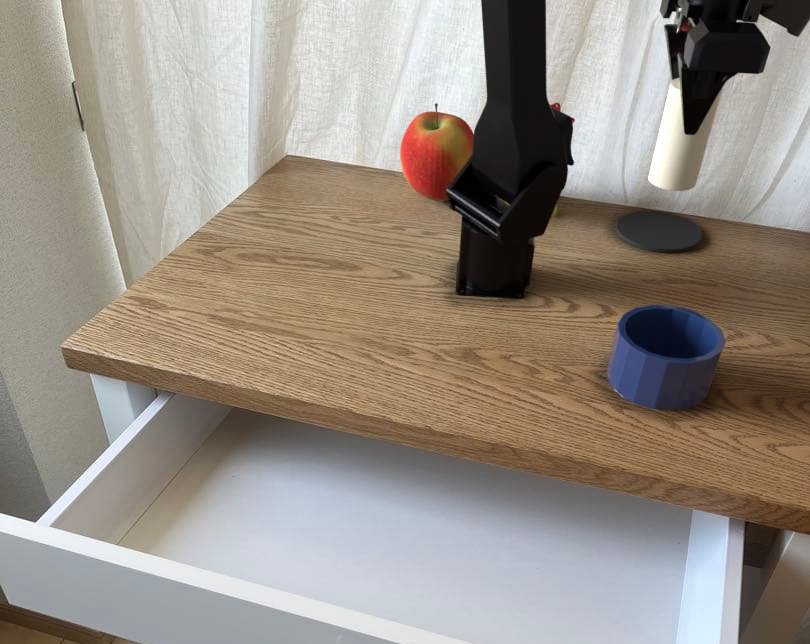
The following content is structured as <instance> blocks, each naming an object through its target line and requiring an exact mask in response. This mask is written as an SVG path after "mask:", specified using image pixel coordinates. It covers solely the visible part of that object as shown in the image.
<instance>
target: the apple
mask: <svg viewBox="0 0 810 644" xmlns="http://www.w3.org/2000/svg"><path fill="white" fill-rule="evenodd" d="M438 106H439V104H438V103H436V102H435V103H434V109H435V111H434V110H433V111H425V112H422V113H420V114H418V115H416V116H415V117H414V118H413V119H412V120H411V121H410V123H409V124H408V126H407V128H406V130H405V132H404V134H403V137H402V140H401V142H400V150H399V162H400V167H401V171H402V173H403V176H404V179H405V180H406V181H407V182H406V183H408V185H409V186H410V187H411V189H413V191H415V192H416V193H418V194H419V195H421V196H423V197H425V198H428V199H430V200H435V201H448V199H447V195H446V189H447V188H448V186H449V185H450V184H451V182H452V181H453V180H454V178H455V177H456V176H457V174H458V173H459V172H460V170H461V169H462V168H463V166H464V165H465V164H466V163H467V161H468V160H469V159H470V157H471V156H472V155H473V140H474V130H472V128H471V127H470V125H469V124H468V122H467V121H466V120H464V119H463V118H462V117H459V116H457V115H454V114H452V113H451V114H450V113H446V112H442V111H441V112H440V111H438Z"/></svg>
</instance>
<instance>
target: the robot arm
mask: <svg viewBox="0 0 810 644" xmlns="http://www.w3.org/2000/svg"><path fill="white" fill-rule="evenodd" d="M480 4H481V5H480V6H481V19H482V20H481V21H482V22H481V23H482V37H483V53H484V68H485V84H486V85H485V86H486V102H485V105H484V107H483V110H482V111H481V113H480V115H479V117H478V120H477V123H476V124H475V127H474V130H473V134H474V140H473V155H472V156H471V157H470V159H469V160H468V161H467V163H466V164H465V165H464V166H463V168H462V169H461V170H460V172H459V173H458V174H457V176H456V177H455V178H454V180H453V181H452V182H451V184H450V185H449V186H448V188H447V189H446V195H447V199H448V200H447V203H448V206H449V209H450V210H451V211H452V212H455V213H457V214H458V215H460V216H461V224H460V225H461V226H460V238H459V239H460V241H459V250H458V251H459V252H458V260H457V262H456V275H455V277H456V278H455V291H454V293H455V295H456V296H460V297H475V298H476V297H478V298H491V299H492V298H494V299H511V300H512V299H513V300H523V299H524V298H525V294H526V293H525V288H527V287H529V286H530V283H531V278H532V269H533V263H534V255H535V250H536V246H535V243H536V242H535V238H538V237H541V236H543V235H544V234H545V233H546V230H547V227H548V225H549V223H550V220H551V219H552V217H551V216H552V213H553V211H554V209H555V206H556V205H557V203H558V201H559V199H560V196H561V194H562V192H563V191H564V189H565V187H566V184H567V180H568V173H569V166H570V167H573V166H574V164H575V160H574V158H573V156H572V140H573V135H574V123H572V117H571V115H568V114H566V113H565V112H562V111H561V112H560V111H559V110H557V109H555V108H553V107H551V106H550V105H551V104H550V101H549V98H548V91H547V89H548V87H547V86H548V84H547V82H548V80H547V75H548V74H547V73H548V72H547V0H480ZM659 13H660V15H661V17H662V19H670V18H671V16H672V14H673V13H675V15H674V19H673V20H674V21H673V23H667V24H664V26H663V33H664V37H665V43H666V50H667V57H668V66H669V73H670V80H671V81H672V80H674V79H676V78H679V79H680V92H681V106H682V118H683V129H684V133H685V134H686V135H695V134H696V133H697V131H698V130H699V128H700V126H701V124H702V122H703V121H704V119H705V117H706V115H707V113H708V112H709V110H710V108H711V106H712V104H713V103H714V101H715V99H716V97H717V96H718V94H719V92H720V91H721V89H722V90H723V87H724V86H725V84H726V83H727V82H728V81H729V80H730V79H731V78H733V77H735V76H736V75H738V74H750V75H760V74H763V73H764V71H765V68H766V65H767V61H768V58H769V55H770V51H771V49H772V48H771V46H770V44H769V42H768V40H767V38H766V36H765V35H764V33H763V32H762V31H761V29H760V28H759V27H758V25H757V23H758V21H759V17H760V16H762V17H763V18H765V19H767V20H769V21H771V22H773V23H775V24H777V25H778V26H781V27H782V28H784V29H786V32H787V33H788V34H790V35H792V36H794V37H796V38H799V37H800V36H801V35H802V33H803V31H804V30H805V28H806V27H807V25H808V24H809V22H810V0H661V3H660V7H659ZM671 81H670V82H671ZM501 199H502V200H503V201H502V200H501ZM504 201H505V202H507V203H508V204H510V205H508V204H507V203H505V202H504Z"/></svg>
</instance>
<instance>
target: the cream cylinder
mask: <svg viewBox="0 0 810 644" xmlns="http://www.w3.org/2000/svg"><path fill="white" fill-rule="evenodd" d="M722 92H723V88H722V89H721V91H720V92H719V94H718V96H717V97H716V99H715V101H714V103H713V104H712V106H711V108H710V110H709V112H708V113H707V115H706V117H705V119H704V121H703V122H702V124H701V126H700V128H699V130H698V131H697V133H696V134H695V135H686V134H685V133H684V129H683V118H682V106H681V92H680V79H679V78H676V79H674V80H672V81H670V83H669V87H668V91H667V95H666V100H665V104H664V109H663V112H662V117H661V121H660V126H659V128H658V129H659V130H658V134H657V138H656V142H655V147H654V152H653V155H652V160H651V164H650V168H649V172H648V177H647V179H648V182H649V183H650V184H651V185H653V186H654V187H656V188H659V189H662V190H666V191H671V192H683V191H684V192H685V191H690V190H692V189H694V188H695V187H696V185H697V182H698V178H699V175H700V171H701V168H702V164H703V161H704V157H705V154H706V149H707V146H708V143H709V139H710V135H711V132H712V128H713V125H714V120H715V117H716V114H717V111H718V107H719V104H720V103H719V102H720V98H721V95H722Z"/></svg>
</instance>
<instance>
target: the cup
mask: <svg viewBox="0 0 810 644" xmlns="http://www.w3.org/2000/svg"><path fill="white" fill-rule="evenodd" d="M726 340H727V339H726V338H725V334H724V331H723V330H722V328H721V327H720V326H718V325H717V324H716V323H715V322H714V321H713V320H712V319H711V318H709V317H707V316H705V315H703V314H701V313H699V312H697V311H695V310H693V309H688V308H684V307H681V306H677V305H668V304H667V305H665V304H651V305H643V306H637V307H634V308H633V309H631V310H629V311H626V312H624V314H622V316H621V317H620V319H619V321H618V323H617V325H616V330H615V333H614V337H613V342H612V346H611V350H610V355H609V359H608V363H607V367H606V377H607V381H608V383H609V385H610V386H611V388H612V389H613V390H614V391H615V392H616V393H617V394H618V395H620V396H621V397H622V398H624V399H625V400H627V401H629V402H631V403H633V404H636V405H639V406H641V407H644V408H649V409H653V410H659V411H679V410H685V409H690V408H692V407H695V406H696V405H699V404H701V402H703V401H704V400H705V399H706V398H707V396H708V393H709V391H710V388H711V385H712V383H713V380H714V377H715V374H716V371H717V369H718V365H719V363H720V360H721V357H722V354H723V351H724V349H725V345H726V343H727V341H726Z"/></svg>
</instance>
